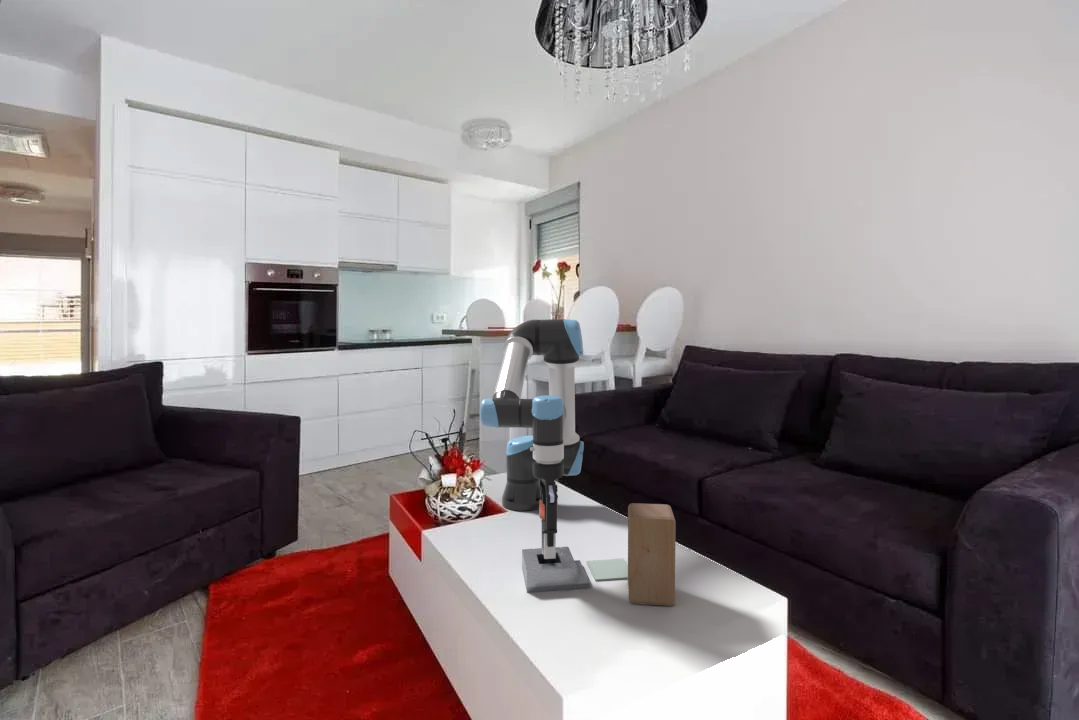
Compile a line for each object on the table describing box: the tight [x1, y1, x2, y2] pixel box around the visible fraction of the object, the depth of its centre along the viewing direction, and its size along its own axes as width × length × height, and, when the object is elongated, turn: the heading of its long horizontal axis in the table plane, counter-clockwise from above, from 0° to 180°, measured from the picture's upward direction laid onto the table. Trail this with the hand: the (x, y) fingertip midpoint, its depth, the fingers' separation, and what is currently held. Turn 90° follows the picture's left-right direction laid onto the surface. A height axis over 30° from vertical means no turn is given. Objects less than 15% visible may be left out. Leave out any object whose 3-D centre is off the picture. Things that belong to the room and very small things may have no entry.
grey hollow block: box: [521, 546, 591, 593], centre depth 126 cm, size 12×15×5 cm
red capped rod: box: [538, 499, 559, 564], centre depth 126 cm, size 4×4×18 cm
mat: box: [586, 558, 628, 582], centre depth 130 cm, size 10×10×1 cm
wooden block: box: [627, 502, 677, 607], centre depth 117 cm, size 10×10×20 cm
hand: (548, 554), depth 126 cm, fingers closed on red capped rod, 3 cm apart
